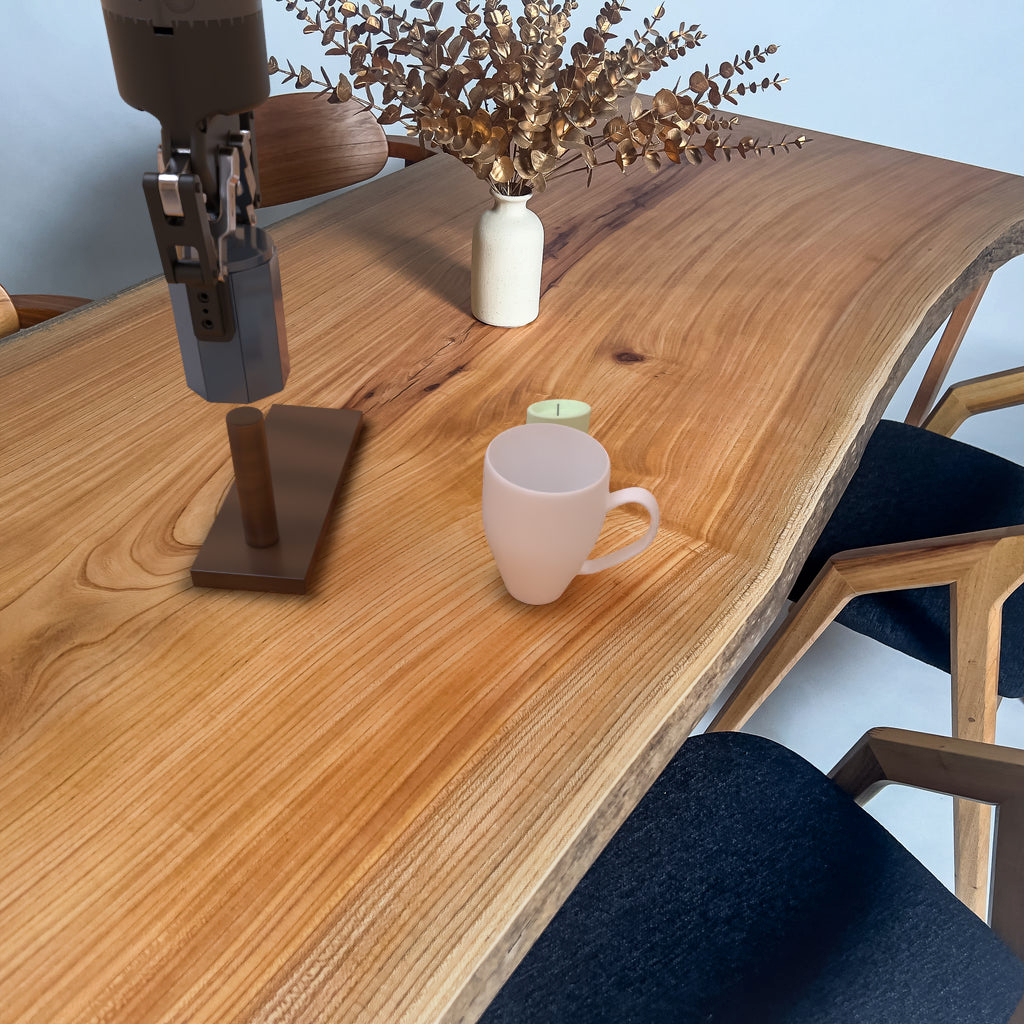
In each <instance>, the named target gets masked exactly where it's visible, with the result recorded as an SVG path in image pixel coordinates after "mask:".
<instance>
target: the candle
mask: <svg viewBox="0 0 1024 1024" xmlns="http://www.w3.org/2000/svg"><path fill="white" fill-rule="evenodd" d="M591 416H592V407H591V406H590V404H588V403H586V402H584V401H580V400H575V399H566V398H565V399H564V398H562V399H561V398H559V399H558V398H557V399H547V400H541V401H537V402H535V403H532V404H531V405H529V406H528V407H527V409H526V419H525V424H533V423H549V424H558V425H563V426H567V427H571V428H574V429H577V430H579V431H582V432H584V433H586V434H588V435H589V430H590V424H591V423H590V422H591Z"/></svg>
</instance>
